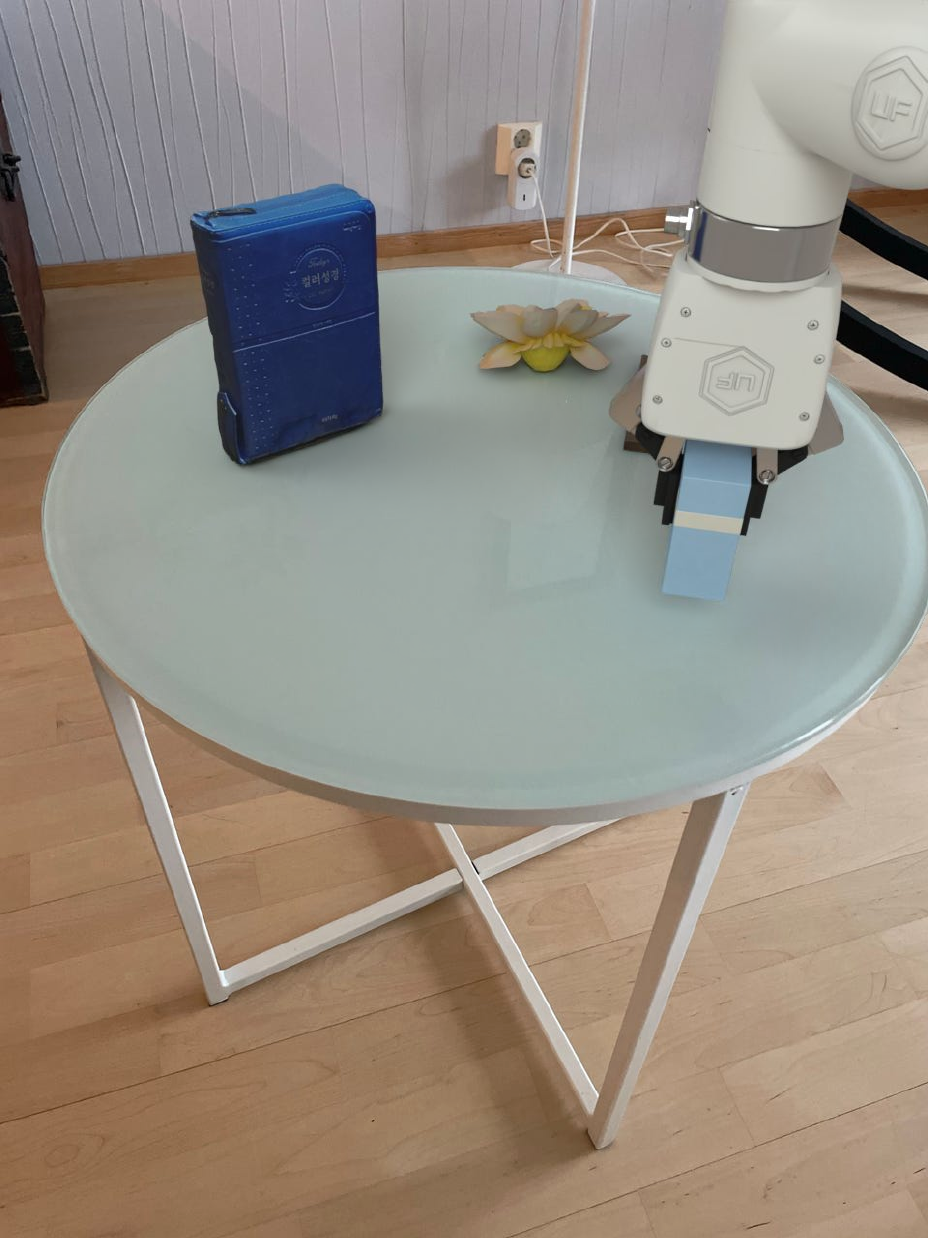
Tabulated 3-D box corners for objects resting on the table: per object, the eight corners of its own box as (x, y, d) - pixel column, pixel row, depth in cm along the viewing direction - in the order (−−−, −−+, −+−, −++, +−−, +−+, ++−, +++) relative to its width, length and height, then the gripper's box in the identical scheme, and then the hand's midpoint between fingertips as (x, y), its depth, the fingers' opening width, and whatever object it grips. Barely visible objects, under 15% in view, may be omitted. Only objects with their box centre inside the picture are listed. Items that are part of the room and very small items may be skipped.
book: (241, 478, 81) (203, 230, 68) (212, 448, 84) (170, 207, 71) (390, 426, 87) (382, 190, 74) (358, 400, 91) (345, 170, 77)
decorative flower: (618, 312, 101) (626, 224, 93) (632, 390, 95) (642, 303, 86) (470, 321, 101) (465, 234, 93) (474, 398, 95) (469, 313, 87)
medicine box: (727, 530, 70) (752, 417, 64) (723, 602, 64) (751, 485, 58) (669, 523, 71) (689, 410, 65) (660, 593, 65) (682, 476, 59)
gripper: (596, 249, 52) (568, 534, 64) (935, 281, 49) (839, 571, 61) (612, 201, 57) (584, 471, 69) (918, 227, 55) (833, 503, 67)
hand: (704, 515), depth 65 cm, fingers closed on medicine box, 4 cm apart
